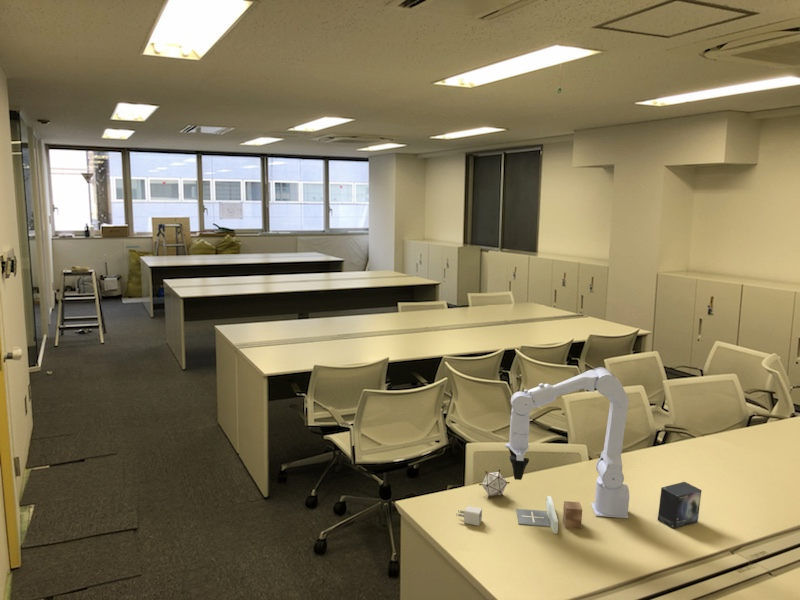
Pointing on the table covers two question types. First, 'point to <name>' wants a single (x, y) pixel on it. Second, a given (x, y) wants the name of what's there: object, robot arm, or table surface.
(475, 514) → the usb wall charger
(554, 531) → the frosted wall
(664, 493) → the small box
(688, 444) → the table surface
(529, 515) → the pad
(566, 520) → the walnut block
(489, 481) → the game die
